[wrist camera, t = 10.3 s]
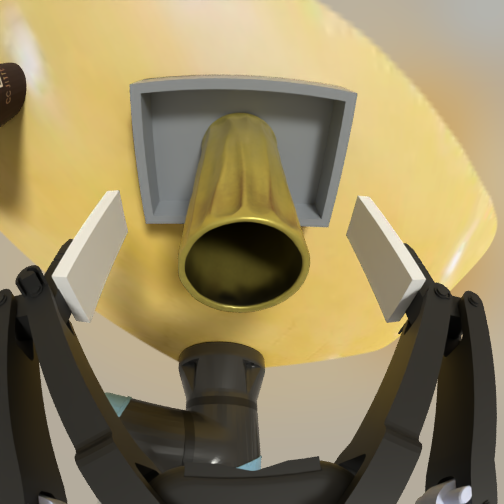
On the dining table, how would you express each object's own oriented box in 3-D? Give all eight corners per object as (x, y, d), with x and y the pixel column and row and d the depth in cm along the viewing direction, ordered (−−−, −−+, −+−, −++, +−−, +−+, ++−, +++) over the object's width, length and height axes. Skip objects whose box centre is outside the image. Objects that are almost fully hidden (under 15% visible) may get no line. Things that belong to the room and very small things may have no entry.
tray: (318, 206, 27) (328, 227, 24) (155, 202, 26) (145, 223, 23) (341, 86, 19) (357, 93, 16) (144, 79, 18) (129, 84, 15)
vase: (197, 174, 23) (165, 310, 12) (208, 105, 19) (168, 191, 8) (266, 185, 24) (292, 324, 13) (285, 120, 20) (347, 222, 9)
